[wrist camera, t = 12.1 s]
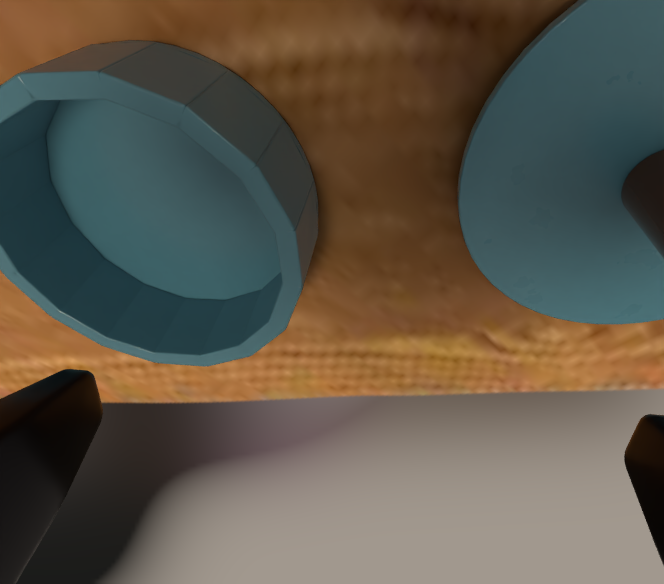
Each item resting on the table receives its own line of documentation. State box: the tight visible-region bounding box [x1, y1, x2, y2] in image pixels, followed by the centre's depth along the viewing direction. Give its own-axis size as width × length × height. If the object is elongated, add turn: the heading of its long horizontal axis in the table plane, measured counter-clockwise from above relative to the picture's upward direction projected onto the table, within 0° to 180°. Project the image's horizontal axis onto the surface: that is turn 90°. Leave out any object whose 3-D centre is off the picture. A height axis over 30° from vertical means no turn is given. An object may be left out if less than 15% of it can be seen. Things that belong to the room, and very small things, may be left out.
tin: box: [0, 40, 318, 366], centre depth 16 cm, size 11×11×4 cm
